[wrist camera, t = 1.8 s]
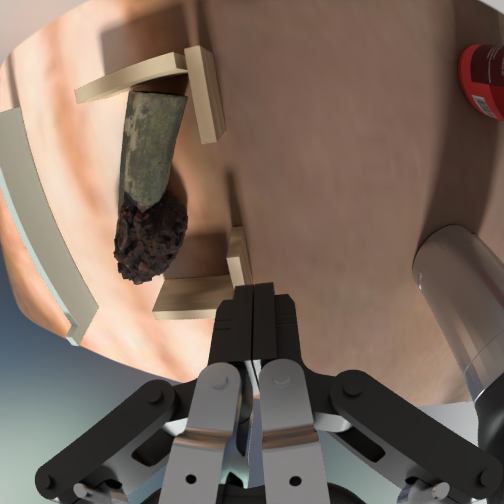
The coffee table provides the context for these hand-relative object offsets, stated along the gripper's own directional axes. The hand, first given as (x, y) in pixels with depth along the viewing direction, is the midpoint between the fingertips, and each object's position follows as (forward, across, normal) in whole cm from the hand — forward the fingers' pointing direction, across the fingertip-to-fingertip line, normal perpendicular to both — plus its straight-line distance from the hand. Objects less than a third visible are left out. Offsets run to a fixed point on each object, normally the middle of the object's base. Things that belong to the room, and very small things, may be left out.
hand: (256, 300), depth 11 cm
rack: (+15, +24, 0) cm, 28 cm away
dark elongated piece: (+15, +9, -1) cm, 18 cm away
